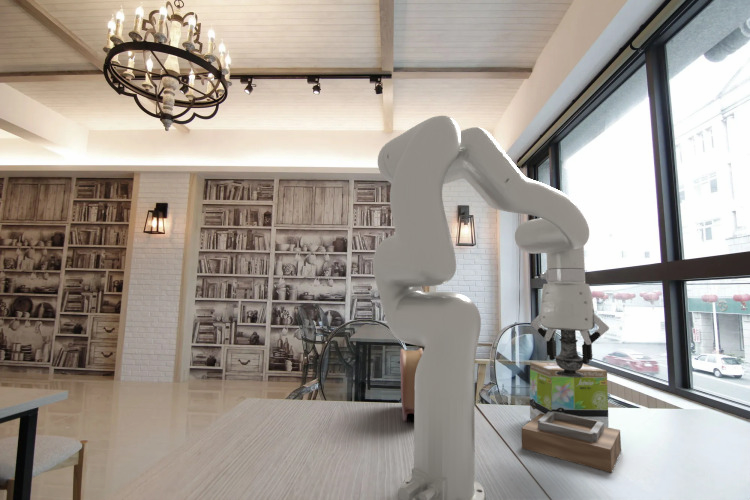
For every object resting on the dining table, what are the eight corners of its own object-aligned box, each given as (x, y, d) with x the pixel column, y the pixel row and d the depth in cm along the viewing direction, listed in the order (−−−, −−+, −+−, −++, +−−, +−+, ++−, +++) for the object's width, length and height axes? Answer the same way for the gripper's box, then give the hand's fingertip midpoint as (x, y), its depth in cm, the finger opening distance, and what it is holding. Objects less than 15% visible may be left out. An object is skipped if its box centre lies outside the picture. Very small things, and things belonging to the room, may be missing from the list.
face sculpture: (429, 429, 87) (430, 356, 90) (400, 427, 88) (401, 355, 90) (420, 404, 107) (421, 345, 109) (396, 403, 107) (398, 344, 110)
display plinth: (611, 472, 68) (610, 440, 68) (521, 448, 78) (521, 420, 78) (621, 449, 78) (619, 422, 79) (541, 430, 88) (540, 406, 89)
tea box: (552, 433, 87) (550, 368, 89) (529, 419, 97) (528, 361, 99) (610, 432, 89) (607, 369, 91) (582, 419, 99) (580, 361, 100)
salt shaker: (558, 370, 84) (556, 317, 86) (587, 374, 80) (585, 318, 82) (551, 374, 80) (549, 318, 81) (582, 379, 76) (579, 319, 77)
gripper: (520, 277, 85) (522, 358, 83) (608, 276, 74) (613, 369, 72) (530, 279, 91) (533, 354, 89) (613, 278, 80) (618, 364, 78)
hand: (569, 360), depth 80 cm, fingers closed on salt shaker, 5 cm apart
